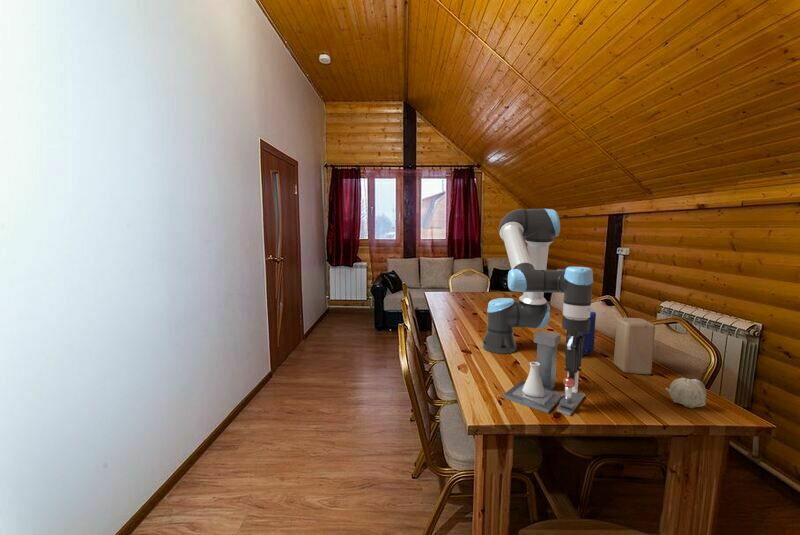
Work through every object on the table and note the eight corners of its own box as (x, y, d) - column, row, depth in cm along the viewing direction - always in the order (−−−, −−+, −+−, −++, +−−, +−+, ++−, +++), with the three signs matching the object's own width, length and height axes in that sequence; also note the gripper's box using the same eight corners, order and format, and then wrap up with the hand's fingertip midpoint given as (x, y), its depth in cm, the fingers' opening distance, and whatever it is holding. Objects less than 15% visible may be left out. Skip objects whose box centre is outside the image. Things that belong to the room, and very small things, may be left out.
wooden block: (652, 375, 128) (656, 324, 126) (623, 373, 130) (627, 322, 128) (639, 365, 138) (643, 317, 136) (612, 363, 140) (615, 316, 138)
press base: (503, 397, 110) (505, 341, 108) (528, 378, 125) (530, 328, 123) (566, 420, 97) (570, 356, 95) (585, 395, 112) (589, 339, 110)
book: (572, 359, 144) (575, 313, 142) (562, 355, 149) (564, 311, 147) (595, 354, 150) (598, 310, 148) (584, 350, 155) (586, 308, 153)
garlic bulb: (701, 413, 105) (719, 387, 103) (691, 417, 101) (710, 390, 98) (668, 393, 113) (684, 368, 110) (658, 395, 108) (674, 369, 105)
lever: (559, 405, 103) (560, 377, 102) (563, 400, 106) (564, 373, 105) (572, 409, 100) (573, 380, 100) (575, 404, 103) (577, 377, 102)
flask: (546, 399, 106) (547, 369, 105) (521, 395, 108) (523, 366, 107) (544, 389, 112) (546, 361, 111) (521, 386, 115) (523, 358, 114)
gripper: (584, 323, 96) (579, 402, 98) (595, 315, 105) (590, 387, 108) (556, 319, 101) (552, 394, 103) (569, 311, 110) (565, 380, 113)
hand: (572, 390), depth 105 cm, fingers closed
